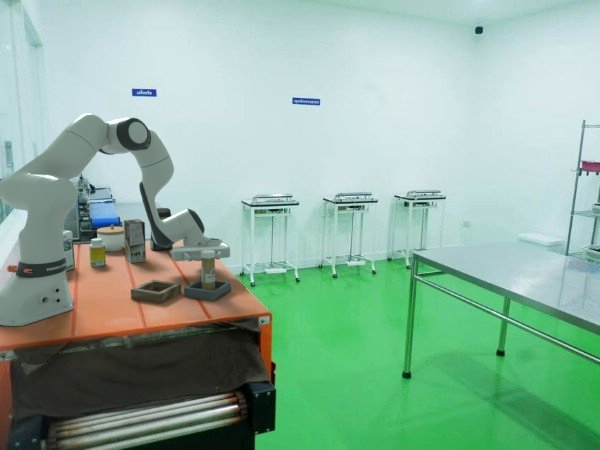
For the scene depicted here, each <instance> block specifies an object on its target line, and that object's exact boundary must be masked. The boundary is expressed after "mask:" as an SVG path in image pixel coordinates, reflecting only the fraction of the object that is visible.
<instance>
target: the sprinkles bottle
mask: <svg viewBox="0 0 600 450" xmlns="http://www.w3.org/2000/svg"><path fill="white" fill-rule="evenodd" d="M201 257H202V258H201V259H202V261H201V266H200V267H201V270H200V271H201V279H202V289H203V290H210V291H214V290H215V280H216V259H215V251H213V250H203V251H201Z"/></svg>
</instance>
